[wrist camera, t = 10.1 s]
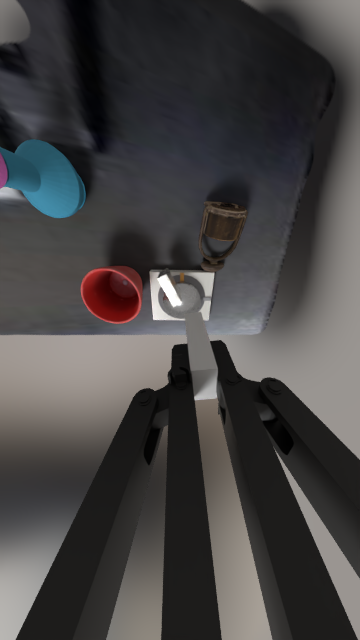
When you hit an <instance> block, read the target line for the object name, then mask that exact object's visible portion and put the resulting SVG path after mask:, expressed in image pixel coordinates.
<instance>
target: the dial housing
mask: <svg viewBox="0 0 360 640" xmlns="http://www.w3.org/2000/svg"><path fill="white" fill-rule="evenodd" d="M160 271H162V270H150V284H151V297H152V309H153V320H185V319H178V318H174V317H172V316H170V315H169V314H168V313H167V312H166V311H165V309H164V306H163V296H164V293H165V292H164V290H163V288H162V286H161V285H160V283H159V281H158V280H157V278H158V275H159V273H160ZM169 271H170V272H171V274H172V276H173V278H174V280H175V282H178V281H186V282H189V283H191V284H193V285H194V286H195V287H196V288H197V290H198V292H199V295H200V299H201V304H200V307H199V309H198V311H197V312H201V313H202V317H203V320H209V313H210V305H211V297H212V289H213V281H214V272H209V271H206V270H169Z"/></svg>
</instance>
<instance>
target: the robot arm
mask: <svg viewBox="0 0 360 640" xmlns="http://www.w3.org/2000/svg"><path fill="white" fill-rule="evenodd" d="M185 324H186V334H187V344H179V345H174V347H173V349H172V363H171V366H172V367H171V370H170V371H169V372H168V380H169V383H168V384H167V385H166V386H165V387H163V388H161V389H159V390H157V391H154V390H153V389H150V388H146V389H142V390H140V391H139V392H138V393H136V395H135V396H134V397H133V400H132V401H131V404H130V406H129V408H128V410H127V412H126V414H125V416H124V418H123V420H122V422H121V424H120V426H119V428H118V430H117V432H116V435H115V436H114V438H113V441H112V443H111V445H110V447H109V449H108V451H107V453H106V455H105V457H104V459H103V461H102V463H101V465H100V467H99V469H98V471H97V473H96V476H95V478H94V480H93V482H92V484H91V486H90V488H89V490H88V492H87V494H86V496H85V498H84V500H83V502H82V504H81V506H80V508H79V510H78V513H77V515H76V517H75V519H74V521H73V523H72V525H71V527H70V529H69V531H68V533H67V535H66V537H65V539H64V541H63V543H62V546H61V548H60V549H59V552H58V554H57V556H56V558H55V560H54V562H53V564H52V566H51V568H50V570H49V572H48V574H47V576H46V578H45V580H44V582H43V585H42V587H41V589H40V591H39V593H38V595H37V597H36V599H35V601H34V603H33V605H32V607H31V610H30V611H29V613H28V615H27V618H26V619H25V622H24V623H23V626H22V628H21V630H20V632H19V634H18V636H17V638H16V640H106V637H107V634H108V630H109V627H110V623H111V619H112V615H113V612H114V608H115V604H116V601H117V597H118V593H119V590H120V586H121V582H122V579H123V575H124V571H125V568H126V564H127V560H128V557H129V553H130V549H131V546H132V542H133V538H134V534H135V531H136V527H137V524H138V520H139V516H140V512H141V508H142V505H143V501H144V497H145V494H146V490H147V486H148V483H149V479H150V476H151V472H152V468H153V465H154V460H155V457H156V453H157V450H158V446H159V443H160V439H161V435H162V431H163V428H164V427H165V426H167V425H168V448H167V478H166V479H167V481H166V509H165V541H164V572H163V604H162V605H163V606H162V634H161V640H222V638H221V630H220V620H219V612H218V603H217V594H216V585H215V576H214V567H213V558H212V550H211V542H210V532H209V523H208V514H207V506H206V497H205V488H204V479H203V470H202V462H201V452H200V444H199V435H198V426H197V417H196V408H195V400H202V399H215V398H217V397H218V401H219V403H218V414H220V416H221V420H222V424H223V428H224V433H225V437H226V441H227V446H228V450H229V454H230V459H231V463H232V467H233V471H234V476H235V480H236V484H237V489H238V493H239V497H240V501H241V506H242V510H243V514H244V518H245V523H246V527H247V531H248V536H249V540H250V544H251V549H252V553H253V557H254V561H255V566H256V570H257V574H258V579H259V583H260V587H261V591H262V596H263V600H264V604H265V608H266V613H267V617H268V621H269V626H270V630H271V635H272V639H273V640H358V639H357V637H356V635H355V632H354V630H353V628H352V625H351V623H350V621H349V619H348V616H347V614H346V612H345V609H344V607H343V605H342V603H341V600H340V598H339V596H338V593H337V591H336V589H335V587H334V584H333V582H332V580H331V577H330V576H329V573H328V571H327V568H326V566H325V564H324V562H323V559H322V557H321V555H320V553H319V550H318V548H317V546H316V543H315V541H314V539H313V536H312V534H311V532H310V529H309V527H308V525H307V523H306V520H305V518H304V516H303V514H302V511H301V509H300V507H299V504H298V502H297V500H296V498H295V495H294V493H293V491H292V488H291V486H290V484H289V482H288V479H287V477H286V475H285V472H284V470H283V468H282V466H281V463H280V461H279V459H278V457H277V454H276V452H275V450H276V451H277V453H278V454H279V456H280V457H281V459H282V460H283V462H284V464H285V465H286V467H287V468H288V470H289V471H290V473H291V474H292V476H293V477H294V479H295V480H296V482H297V483H298V485H299V487H300V488H301V489H302V491H303V493H304V494H305V496H306V497H307V499H308V500H309V502H310V503H311V505H312V506H313V508H314V509H315V511H316V512H317V514H318V516H319V517H320V518H321V520H322V522H323V523H324V525H325V526H326V528H327V529H328V531H329V532H330V534H331V535H332V537H333V538H334V540H335V541H336V543H337V544H338V546H339V548H340V549H341V551H342V552H343V554H344V555H345V557H346V558H347V560H348V561H349V563H350V564H351V566H352V567H353V569H354V570H355V572H356V573H357V575H358V576H359V578H360V460H359V459H358V458H357V457H356V456H355V455H354V454H353V453H352V452H351V451H350V450H349V449H348V448H347V447H346V446H345V445H344V444H343V443H342V442H341V441H340V440H339V439H338V438H337V437H336V436H335V435H334V434H333V433H332V431H330V429H329V428H328V427H326V425H325V424H324V423H323V422H322V421H321V420H320V419H319V418H318V417H317V416H316V415H314V414H313V412H312V411H311V410H310V409H309V408H308V407H307V406H306V405H305V404H304V403H303V402H302V401H301V400H300V399H299V398H298V397H297V396H296V395H295V394H294V393H293V392H292V391H291V390H290V389H289V388H288V387H287V386H286V385H285V384H284V383H282V382H281V381H280V380H277V379H275V378H264V379H263V380H262V381H261V382H256V381H251V380H247V379H245V378H243V377H242V376H241V375H240V374H239V373H238V372H237V371H236V368H235V366H234V363H233V361H232V359H231V357H230V354H229V352H228V349H227V347H226V344H225V343H223V342H222V341H221V340H219V341H209V337H208V334H207V330H206V327H205V323H204V320H203V317H202V313H201V312H196V313H186V314H185ZM274 448H275V450H274Z"/></svg>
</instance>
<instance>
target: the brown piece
mask: <svg viewBox="0 0 360 640" xmlns="http://www.w3.org/2000/svg"><path fill="white" fill-rule="evenodd" d="M204 205H205V206H206V207H205V208H204V212H203V217H202V223H201V228H200V234H199V249H200V252H201V254H202V255H203V256H204V257H205V258H206V259H208V260H209V261H204V262H202V263H201V267H202V268H203V269H204V270H206V271H209V272H216V271H218V270H220V269H222V268H223V267H224V264H223V263H221V262H217V261H220V260H222V259H225V258H226V257H227V256H229V255H230V254H231V253H232V252H233V250H234V249H235V248H236V246H237V244H238V241H239V239H240V236H241V233H242V230H243V227H244V224H245V221H246V218H247V215H248V212H247V210H246V209H245V207H244V206H238V205H236V204H232V203H224V202H210V201H205V202H204ZM203 233H204V234H205V235H206V236H208V237H210V238H213V239H216V240H221V241H233V240H235V242H234V244H233V246H232V247H231V248H230V249H229V250H228V251H227V252H226V253H225V254H223V255H222V256H219V257H209V256H207V255H206V254H205V253H204V252H203V249H202V238H203Z"/></svg>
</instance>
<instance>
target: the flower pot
mask: <svg viewBox="0 0 360 640" xmlns="http://www.w3.org/2000/svg"><path fill="white" fill-rule="evenodd" d="M142 291H143V289H142V280H141V277H140V275H139V274H138V273H137V272H136V271H135V270H134V269H132V268H130V267H128V266H108V267H101V268H96V269H93V270H91V271H90V272H89V273H87V274H86V276H85V277H84V279H83V281H82V284H81V295H82V299H83V301H84V303H85V305H86V307H87V308H88V309H89V310H90V311H91V312H92V313H93V314H94V315H95V316H97V317H98V318H100V319H102V320H104V321H106V322H110V323H117V324H118V323H125V322H128V321H131V320H132V319H134V318H135V317H136V316H137V315H138V313H139V311H140V309H141V305H142Z"/></svg>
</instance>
